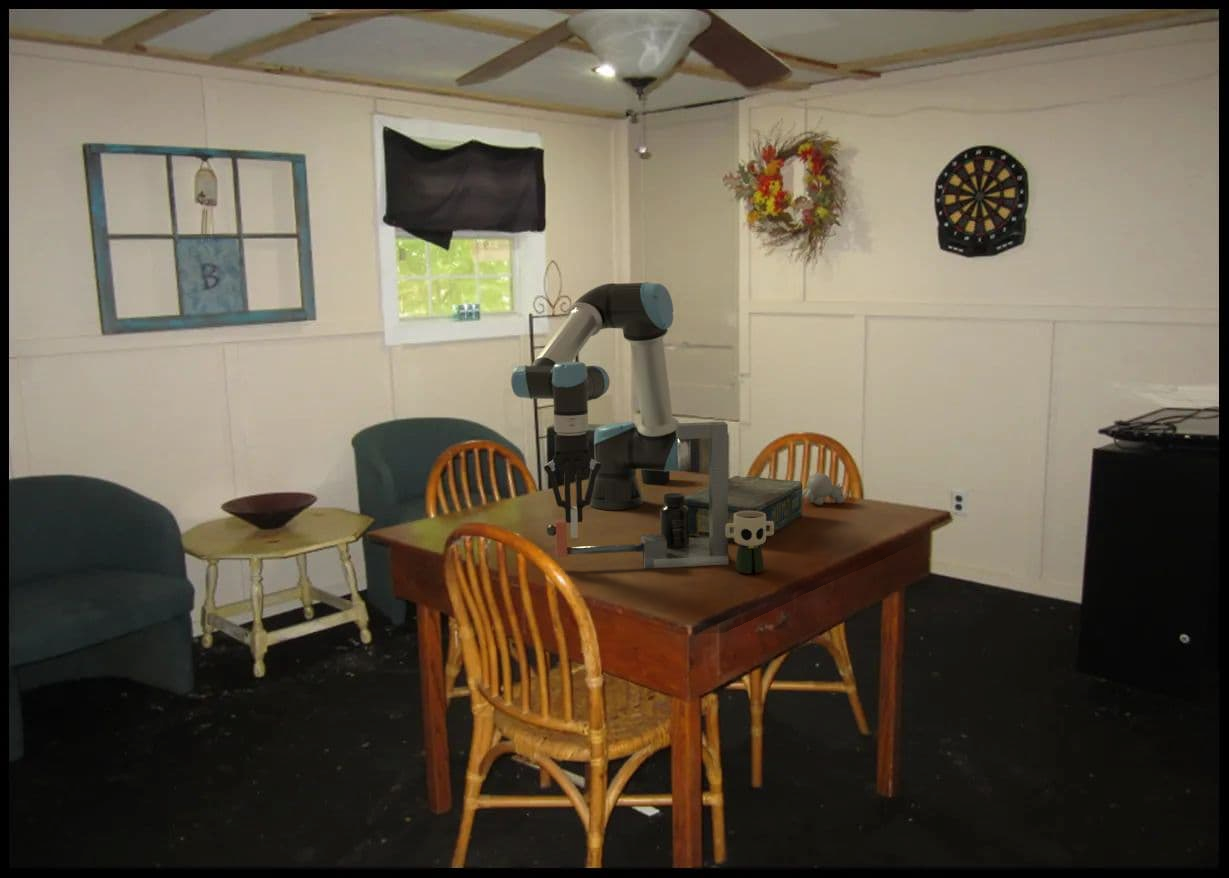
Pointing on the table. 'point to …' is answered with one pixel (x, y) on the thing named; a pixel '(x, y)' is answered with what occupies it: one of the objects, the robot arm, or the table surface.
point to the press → (716, 544)
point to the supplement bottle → (675, 520)
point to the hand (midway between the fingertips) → (574, 536)
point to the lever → (563, 550)
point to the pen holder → (655, 476)
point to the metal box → (749, 503)
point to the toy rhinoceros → (822, 489)
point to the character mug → (749, 539)
